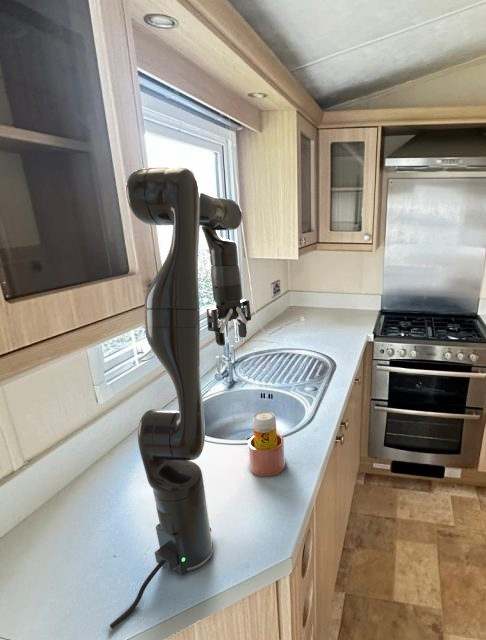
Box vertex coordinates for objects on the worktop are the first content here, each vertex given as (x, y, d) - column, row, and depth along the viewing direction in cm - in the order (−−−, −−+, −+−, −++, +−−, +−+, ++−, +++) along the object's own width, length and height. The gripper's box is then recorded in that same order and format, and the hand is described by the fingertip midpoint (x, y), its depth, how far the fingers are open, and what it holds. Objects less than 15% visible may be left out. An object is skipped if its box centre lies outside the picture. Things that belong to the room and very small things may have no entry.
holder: (270, 480, 108) (268, 454, 105) (243, 469, 112) (240, 444, 110) (291, 462, 115) (290, 437, 112) (265, 452, 120) (263, 429, 117)
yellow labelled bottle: (257, 471, 110) (253, 422, 105) (255, 459, 116) (251, 412, 110) (280, 467, 112) (277, 419, 106) (276, 455, 117) (273, 409, 112)
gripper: (234, 277, 114) (239, 332, 120) (195, 285, 103) (203, 346, 109) (255, 279, 111) (259, 336, 117) (217, 287, 100) (223, 350, 105)
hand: (232, 341), depth 113 cm, fingers open, 8 cm apart
